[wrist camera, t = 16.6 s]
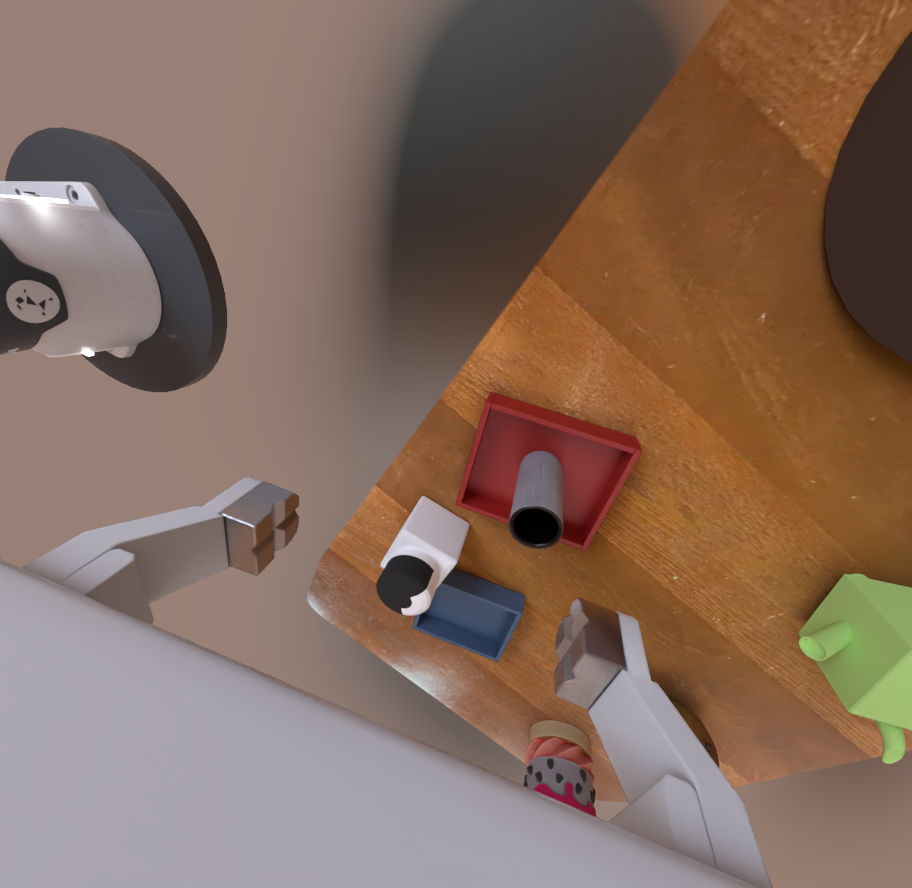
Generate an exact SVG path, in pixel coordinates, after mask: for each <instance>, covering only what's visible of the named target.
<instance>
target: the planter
mask: <svg viewBox="0 0 912 888" xmlns="http://www.w3.org/2000/svg"><path fill="white" fill-rule="evenodd" d="M509 529H510V532H511V534H512V536H513V537H514V538H515V539H516V540H517V541H518V542H519V543H521V544H522V545H524V546H527V547H530V548H536V549H541V548H547V547H550V546H552V545H554V544H555V543H557V542H558V541H559V540H560V538H561V536H562V534H563V469H562V464H561V462H560V460H559V459H558V458H557V457H556V456H555V455H553V454H552V453H550V452H546V451H535V452H531V453H529V454H528V455H526V456H525V457H524V458H523V460H522V462H521V465H520V469H519V474H518V479H517V484H516V489H515V494H514V499H513V504H512V509H511V514H510V519H509Z"/></svg>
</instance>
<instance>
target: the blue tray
mask: <svg viewBox="0 0 912 888" xmlns="http://www.w3.org/2000/svg"><path fill="white" fill-rule="evenodd" d="M524 598H525V595H522V594H520V593H517V592H514V591H512V590H509V589H506V588H504V587H501V586H498V585H496V584H493V583H490V582H488V581H485V580H482V579H480V578H477V577H474V576H472V575H469V574H466V573H464V572H461V571H458V570H456V569H452V570H451V571H450V573H449V574H448V575H447V576H446V578H445V579H444V580H443V581H442V582H441V584H440V585H439V586H438V587H437V589H436V590H435V593H434V596H433V598H432V601H431V604H430V606H429V608H428V609H427V610H426V611H425V612H423V613H421V614H418V615H416V616H415V619H414V623H413V626H412V628H413V629H416V630H418V631H421V632H423V633H426V634H428V635H431V636H433V637H436V638H438V639H441V640H443V641H446V642H448V643H451V644H453V645H456V646H458V647H461V648H464V649H466V650H469V651H471V652H474V653H476V654H479V655H481V656H484V657H486V658H489V659H491V660H494V661H496V662H499V660H500V658H501V656H502V654H503V652H504V650H505V648H506V646H507V644H508V642H509V640H510V638H511V636H512V634H513V632H514V630H515V628H516V626H517V624H518V622H519V620H520V618H521V616H522V614H523V607H524Z"/></svg>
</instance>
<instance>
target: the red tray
mask: <svg viewBox="0 0 912 888" xmlns="http://www.w3.org/2000/svg"><path fill="white" fill-rule="evenodd" d="M535 451H546V452H550V453H552V454H553V455H555V456H556V457H557V458H558V459H559V460H560V462H561V464H562V469H563V534H562V536H561V538H560V540H559V542H561V543H564V544H567V545H570V546H573V547H575V548H578V549H581V550H584V551H586V550H587V548H588V546H589V545H590V543H591V541H592V539H593V537H594V536H595V534H596V532H597V530H598V529H599V527H600V525H601V523H602V522H603V520H604V518H605V516H606V514H607V513H608V511H609V509H610V507H611V506H612V504H613V502H614V500H615V499H616V497H617V495H618V493H619V491H620V490H621V488H622V486H623V484H624V483H625V481H626V479H627V477H628V476H629V474H630V472H631V470H632V468H633V467H634V465H635V463H636V461H637V460H638V458H639V456H640V454H641V453H642V449H641V447H640V444H639V442H638V440H637V438H636V437H633V436H630V435H627V434H624V433H621V432H617V431H614V430H611V429H608V428H605V427H602V426H598V425H595V424H592V423H589V422H586V421H582V420H579V419H576V418H573V417H570V416H567V415H563V414H560V413H557V412H554V411H551V410H547V409H544V408H541V407H538V406H535V405H532V404H528V403H525V402H522V401H519V400H516V399H513V398H509V397H506V396H503V395H500V394H497V393H493V392H490V394H489V396H488V398H487V400H486V402H485V406H484V409H483V413H482V416H481V419H480V423H479V426H478V430H477V433H476V436H475V440H474V443H473V447H472V450H471V453H470V457H469V460H468V464H467V467H466V470H465V474H464V477H463V481H462V484H461V487H460V491H459V494H458V498H457V501H456V505H457V506H461V507H462V508H465V509H468V510H471V511H474V512H477V513H479V514H482V515H485V516H488V517H491V518H493V519H496V520H499V521H502V522H505V523H508V524H509V519H510V514H511V509H512V504H513V499H514V494H515V489H516V484H517V479H518V474H519V469H520V465H521V462H522V460H523V458H524V457H525V456H526V455H528V454H529V453H531V452H535Z"/></svg>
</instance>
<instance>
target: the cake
mask: <svg viewBox="0 0 912 888" xmlns="http://www.w3.org/2000/svg"><path fill="white" fill-rule="evenodd" d="M525 761H526V765H527V775H525V782H524V786H525V787H528V788H530V789H532V790H535V791H537V792H539V793H542V794H544V795H546V796H548V797H551V798H553V799H555V800H558V801H560V802H562V803H565V804H567V805H569V806H572V807H574V808H576V809H579V810H581V811H583V812H585V813H588V814H590V815H592V816H595V817H596V811H595V808H594V802H595V799H594V798H595V789H593V783H592V781H593V780H595V778H594V776H593V774H592V772H591V771H590V768H591V765H592V762H593V761H592V760H591V749H590V740H589V738H588V737H587V735H586V734H585V733H583V732H582V731H581V730H580V729H578V728H576V727H575V726H573V725H570V724H567V723H564V722H560V721H554V720H544V721H540V722H536V723H535V724H534V725H532V726H531V729H530V734H529V745H528V747H527V749H526V751H525Z"/></svg>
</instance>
